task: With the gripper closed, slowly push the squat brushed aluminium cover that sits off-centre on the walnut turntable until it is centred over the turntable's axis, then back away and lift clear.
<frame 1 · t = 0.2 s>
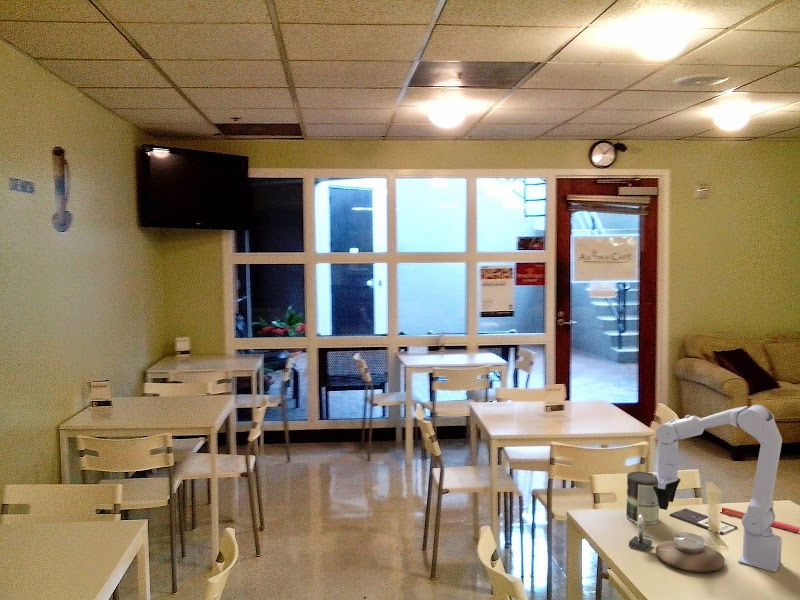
hand: (666, 505, 208), 10 cm above the table, tool pointing down, fingers open, 7 cm apart
red long narrow piece: (758, 523, 220), on the table
chocolate bar: (702, 523, 219), on the table
cover: (688, 548, 196), point 2 cm above the table, touching turntable
trophy: (640, 545, 201), on the table
coffee can: (642, 519, 222), on the table
turntable: (689, 555, 192), point 1 cm above the table, hinge at 0.0°, touching cover
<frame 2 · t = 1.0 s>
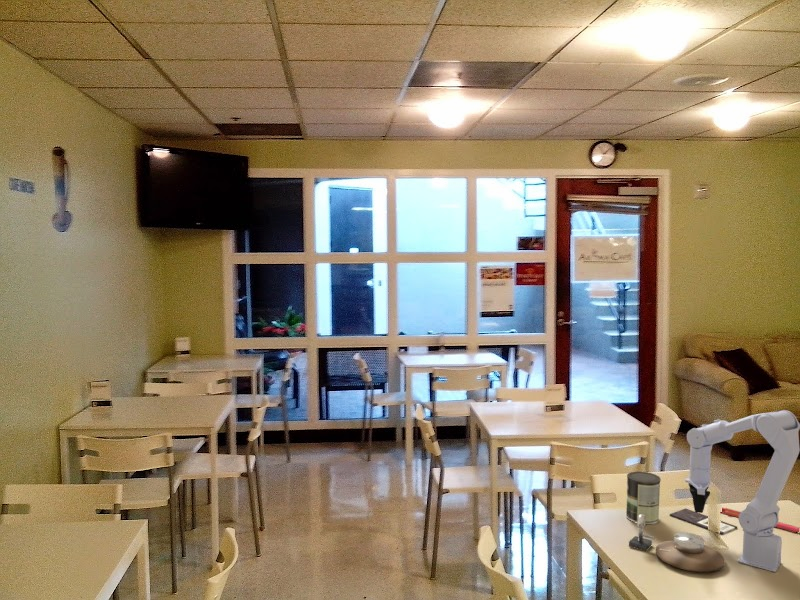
hand: (698, 509, 207), 8 cm above the table, tool pointing down, fingers open, 3 cm apart
nothing on the table moved.
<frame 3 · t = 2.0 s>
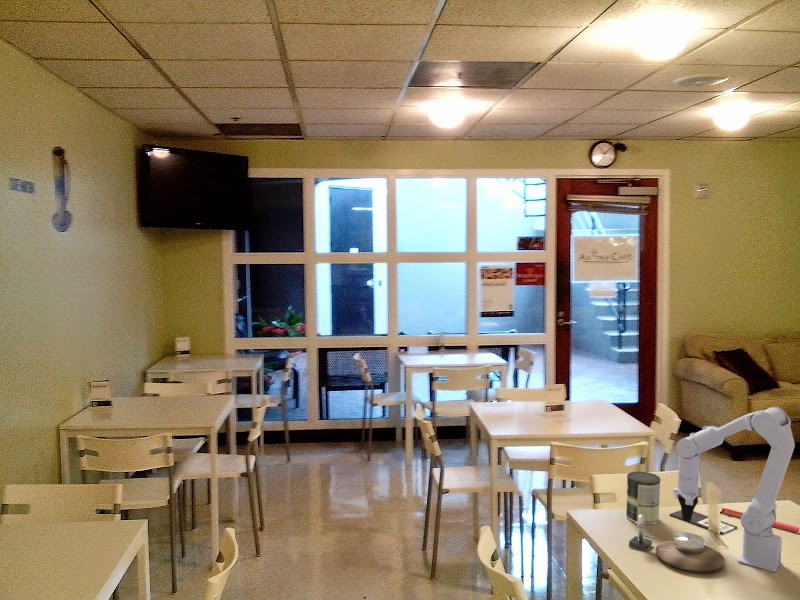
hand: (686, 519, 206), 6 cm above the table, tool pointing down, fingers closed
nothing on the table moved.
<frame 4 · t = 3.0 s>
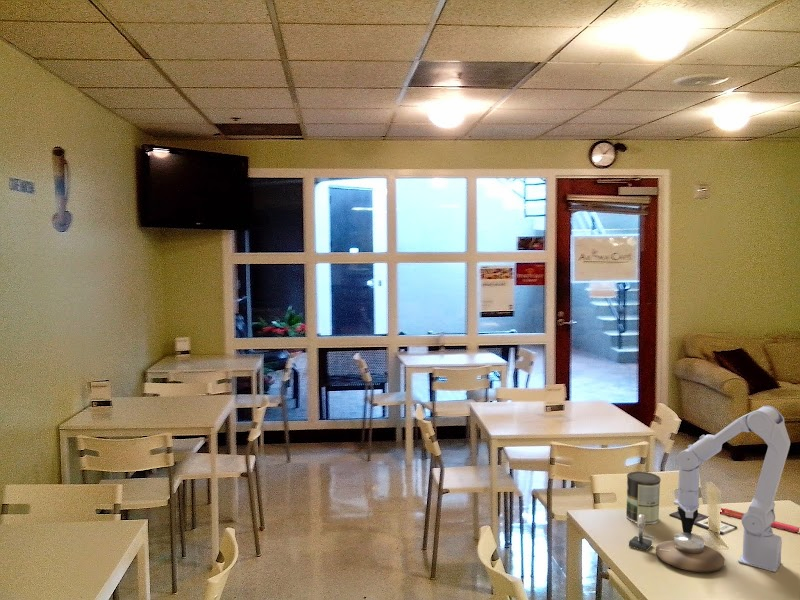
hand: (686, 532, 204), 3 cm above the table, tool pointing down, fingers closed
nothing on the table moved.
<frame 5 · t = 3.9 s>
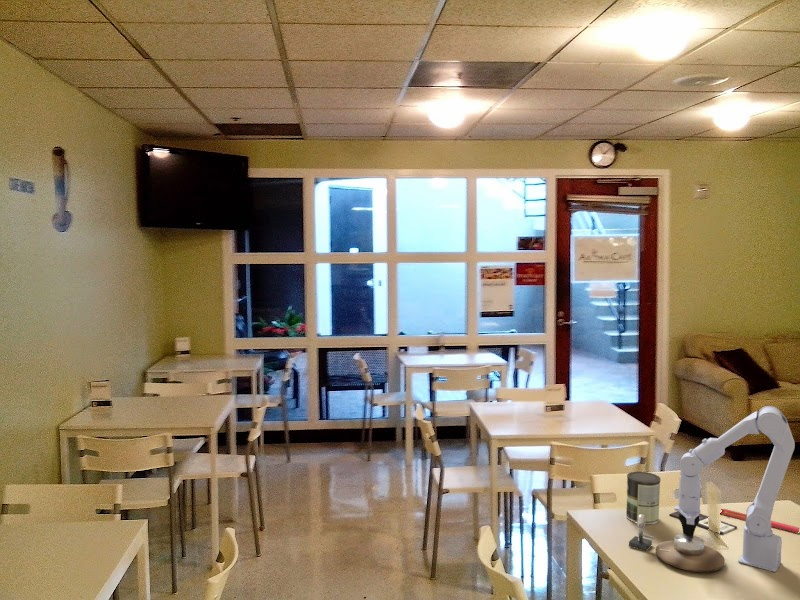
hand: (687, 539, 200), 3 cm above the table, tool pointing down, fingers closed
cover: (688, 549, 195), point 2 cm above the table, touching gripper
turntable: (689, 555, 192), point 1 cm above the table, hinge at 0.0°
everything else where it was.
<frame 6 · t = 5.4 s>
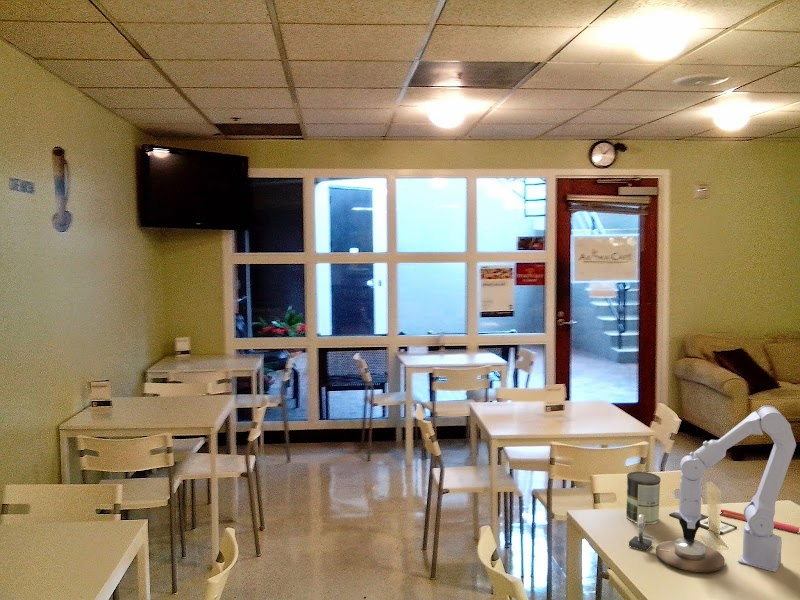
hand: (688, 543, 197), 3 cm above the table, tool pointing down, fingers closed
cover: (689, 554, 192), point 2 cm above the table, touching gripper, turntable
turntable: (689, 555, 192), point 1 cm above the table, hinge at 0.0°, touching cover
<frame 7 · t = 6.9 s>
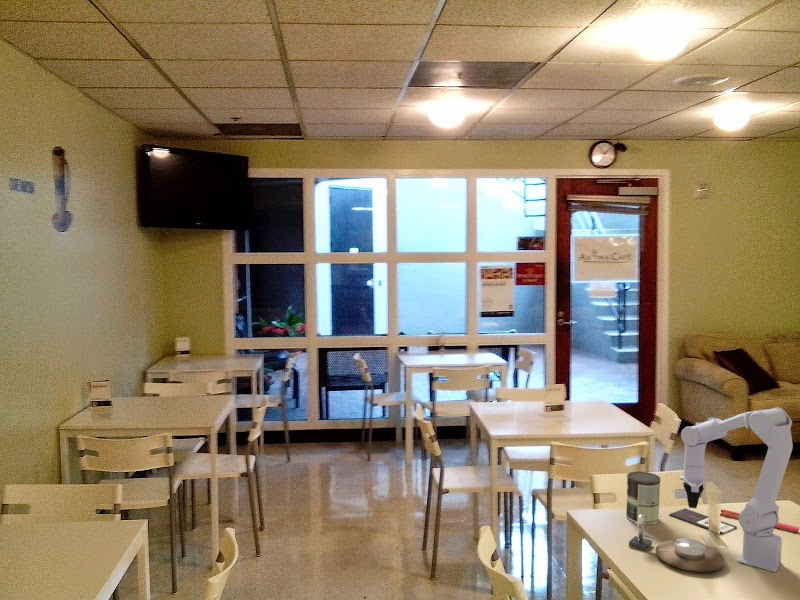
hand: (692, 507, 209), 8 cm above the table, tool pointing down, fingers closed
cover: (689, 554, 192), point 2 cm above the table, touching turntable
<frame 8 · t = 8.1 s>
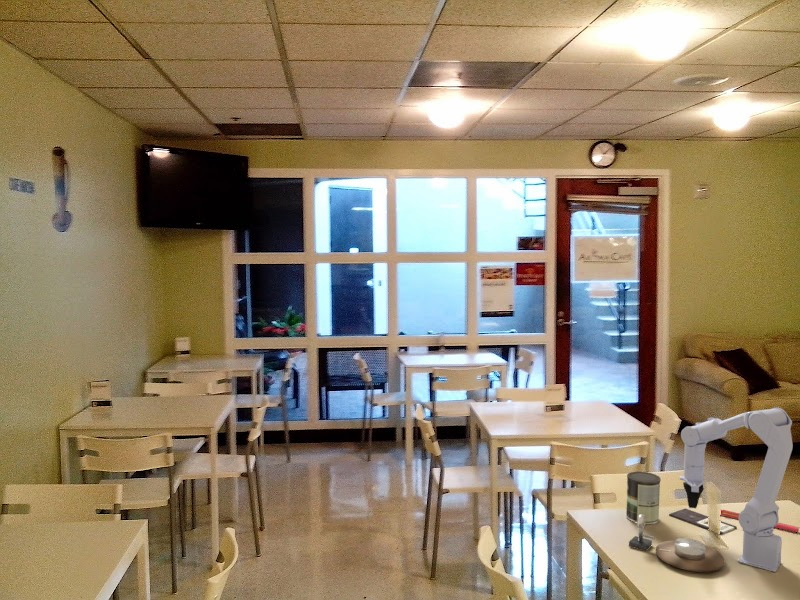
hand: (692, 507, 209), 8 cm above the table, tool pointing down, fingers closed
at the end: cover 0.3 cm from the turntable (horizontally); cover tilted 0°; cover touching turntable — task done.
